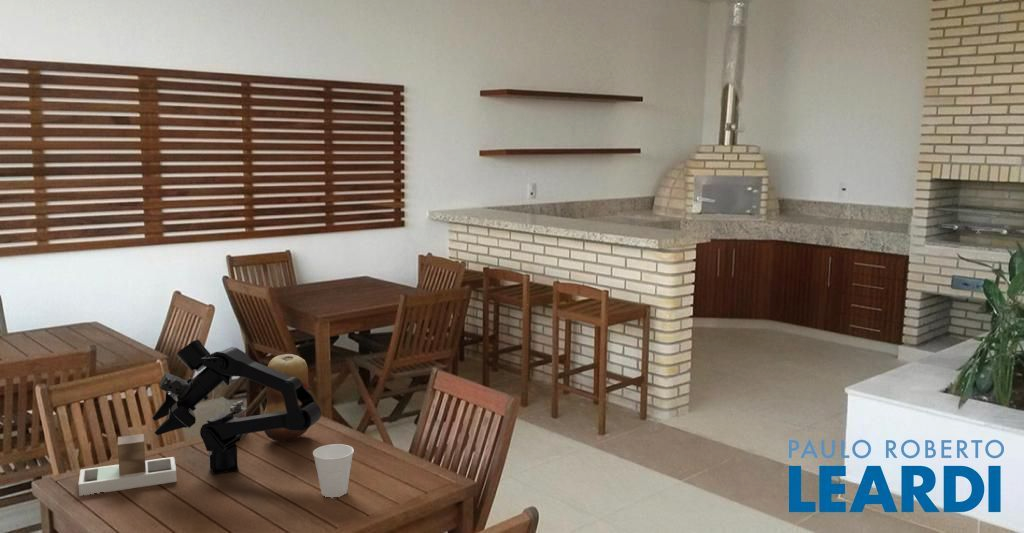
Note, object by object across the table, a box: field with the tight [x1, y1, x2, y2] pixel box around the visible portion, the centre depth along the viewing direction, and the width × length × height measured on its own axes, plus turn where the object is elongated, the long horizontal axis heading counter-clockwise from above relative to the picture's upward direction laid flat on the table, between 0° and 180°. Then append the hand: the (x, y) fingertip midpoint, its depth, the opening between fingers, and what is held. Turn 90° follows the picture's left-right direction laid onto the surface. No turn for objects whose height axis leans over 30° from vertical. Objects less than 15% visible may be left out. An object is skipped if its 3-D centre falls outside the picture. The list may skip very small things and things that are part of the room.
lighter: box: [229, 400, 247, 438], centre depth 241 cm, size 8×3×10 cm, turn 168°
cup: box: [312, 443, 355, 499], centre depth 203 cm, size 10×10×11 cm
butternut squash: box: [263, 353, 309, 442], centre depth 238 cm, size 14×13×25 cm
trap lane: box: [77, 456, 178, 497], centre depth 209 cm, size 22×10×3 cm, turn 115°
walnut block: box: [117, 433, 146, 475], centre depth 209 cm, size 6×6×8 cm
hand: (154, 426), depth 212 cm, fingers open, 9 cm apart
